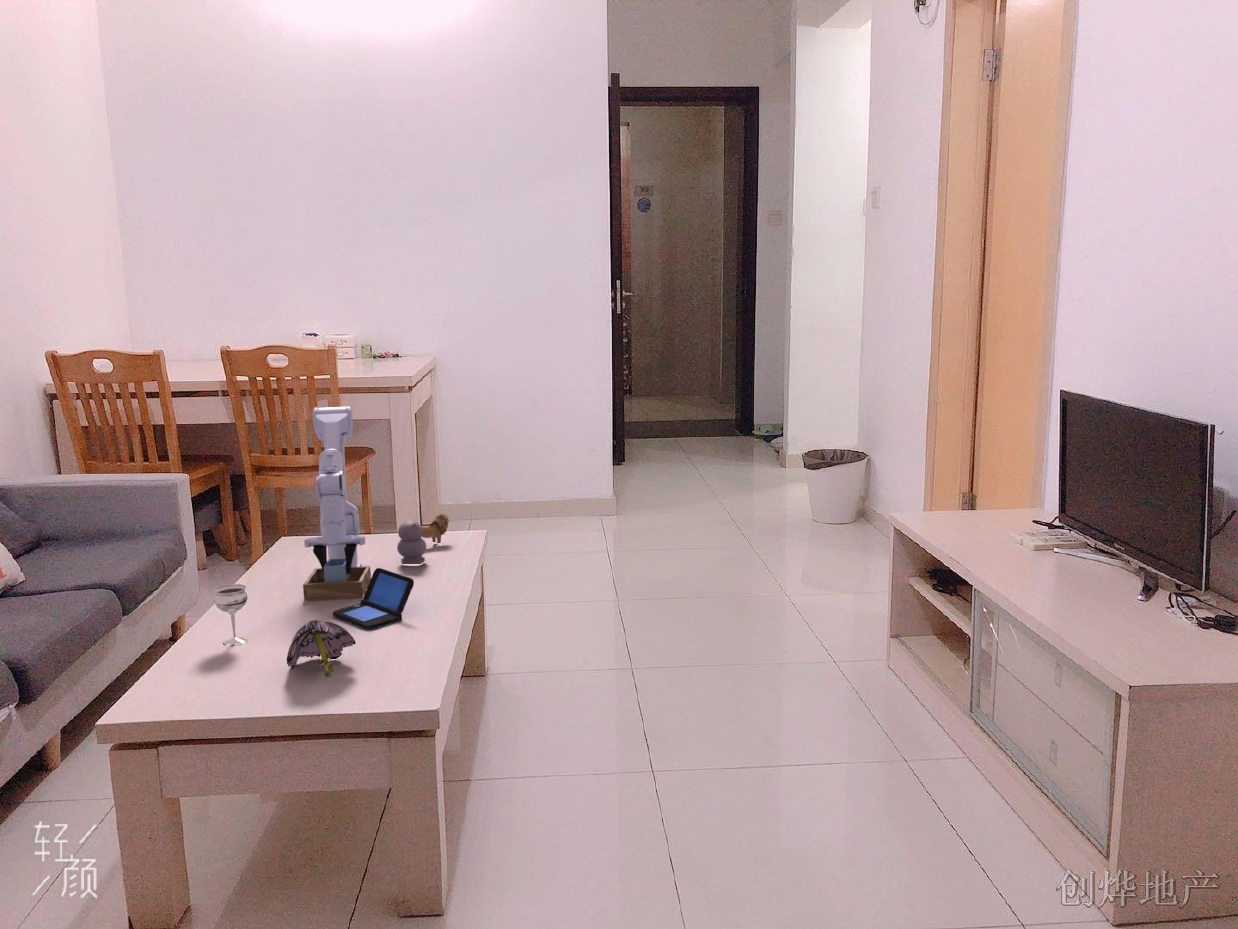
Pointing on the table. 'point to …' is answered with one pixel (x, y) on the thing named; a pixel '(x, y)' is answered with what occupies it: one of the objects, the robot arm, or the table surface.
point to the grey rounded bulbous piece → (411, 543)
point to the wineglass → (231, 604)
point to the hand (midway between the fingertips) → (337, 573)
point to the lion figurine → (436, 528)
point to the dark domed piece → (319, 643)
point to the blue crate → (335, 571)
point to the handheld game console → (379, 601)
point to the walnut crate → (337, 585)
